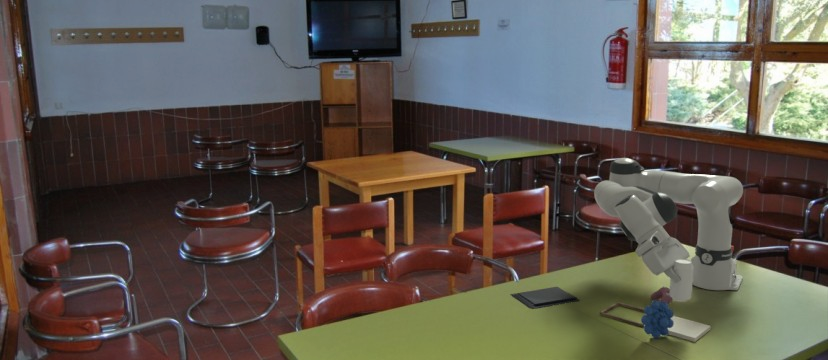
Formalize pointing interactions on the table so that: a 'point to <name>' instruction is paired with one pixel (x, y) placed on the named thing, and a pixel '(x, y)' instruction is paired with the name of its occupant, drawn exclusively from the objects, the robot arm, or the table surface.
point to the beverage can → (682, 280)
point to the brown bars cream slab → (680, 328)
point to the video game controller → (662, 295)
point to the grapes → (657, 319)
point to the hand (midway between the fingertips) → (683, 278)
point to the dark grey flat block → (544, 297)
